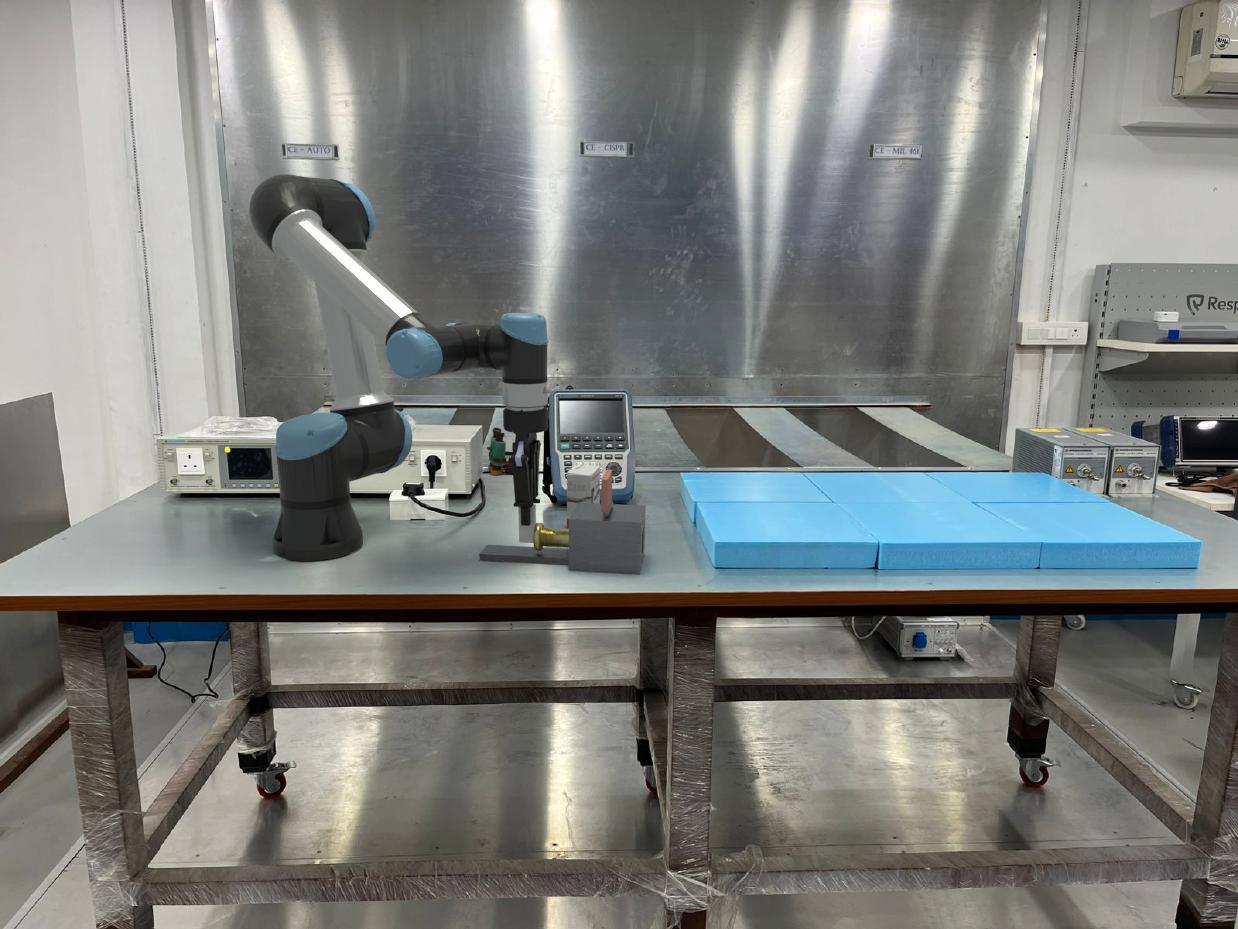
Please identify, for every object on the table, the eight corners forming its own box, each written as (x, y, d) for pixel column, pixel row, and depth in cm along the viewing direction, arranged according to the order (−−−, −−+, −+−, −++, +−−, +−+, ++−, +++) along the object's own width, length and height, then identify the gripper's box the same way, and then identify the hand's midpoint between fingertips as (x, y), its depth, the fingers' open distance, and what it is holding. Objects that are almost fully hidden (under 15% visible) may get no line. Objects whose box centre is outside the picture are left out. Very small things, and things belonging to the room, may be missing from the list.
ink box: (590, 535, 160) (591, 474, 157) (565, 533, 161) (565, 473, 158) (600, 521, 168) (601, 464, 166) (576, 520, 169) (577, 463, 167)
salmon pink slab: (600, 517, 140) (601, 479, 139) (606, 505, 147) (606, 469, 145) (608, 517, 140) (609, 479, 139) (613, 506, 147) (613, 469, 145)
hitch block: (475, 565, 143) (474, 514, 141) (490, 546, 153) (489, 498, 151) (639, 574, 140) (640, 522, 138) (644, 554, 150) (645, 505, 148)
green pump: (532, 435, 203) (491, 433, 200) (528, 477, 205) (487, 476, 202) (525, 428, 211) (485, 426, 208) (521, 469, 213) (482, 467, 210)
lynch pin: (533, 554, 144) (533, 527, 143) (539, 545, 149) (538, 519, 148) (620, 558, 143) (621, 531, 142) (623, 549, 147) (623, 523, 146)
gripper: (539, 414, 134) (541, 554, 139) (554, 401, 147) (555, 531, 152) (493, 412, 135) (497, 552, 140) (512, 400, 147) (515, 529, 153)
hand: (527, 541), depth 146 cm, fingers closed
